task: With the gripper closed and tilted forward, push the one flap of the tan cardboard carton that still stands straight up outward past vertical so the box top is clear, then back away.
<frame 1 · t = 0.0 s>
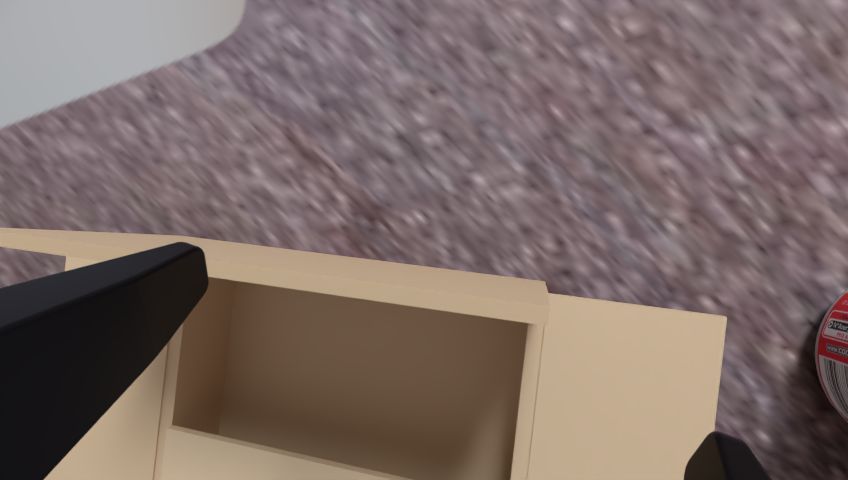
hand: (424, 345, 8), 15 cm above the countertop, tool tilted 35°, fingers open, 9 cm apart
flap: (296, 264, 16), point 9 cm above the countertop, hinge at 90.0°
carton: (360, 427, 24), on the countertop
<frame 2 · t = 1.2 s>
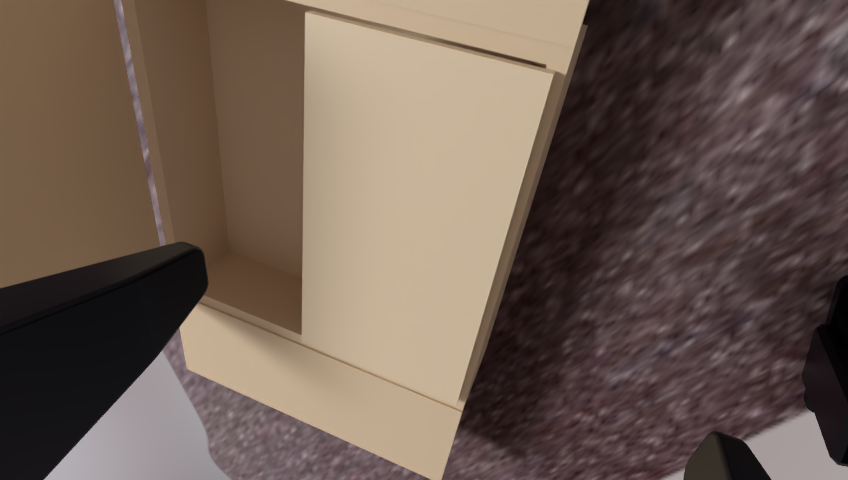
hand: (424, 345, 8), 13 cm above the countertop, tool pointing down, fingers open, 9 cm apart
flap: (43, 193, 18), point 9 cm above the countertop, hinge at 90.0°
carton: (357, 169, 23), on the countertop
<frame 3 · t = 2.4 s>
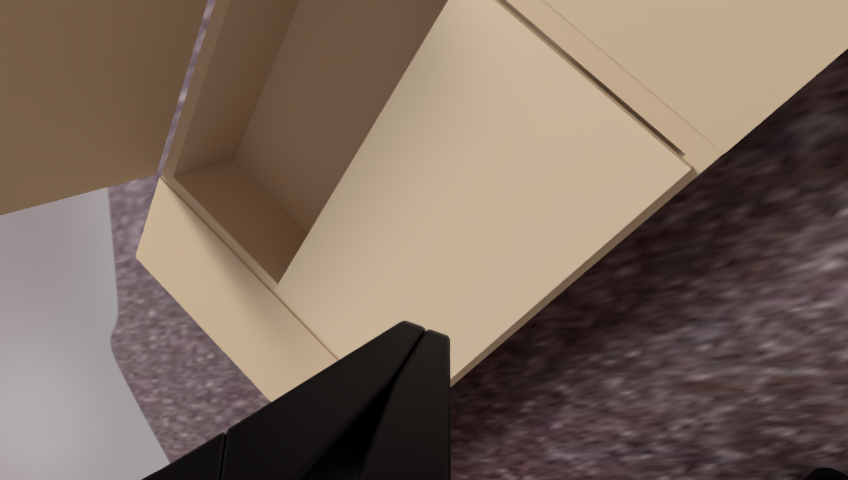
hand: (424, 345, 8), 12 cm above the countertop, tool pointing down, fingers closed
flap: (79, 19, 15), point 9 cm above the countertop, hinge at 90.0°
carton: (410, 146, 21), on the countertop
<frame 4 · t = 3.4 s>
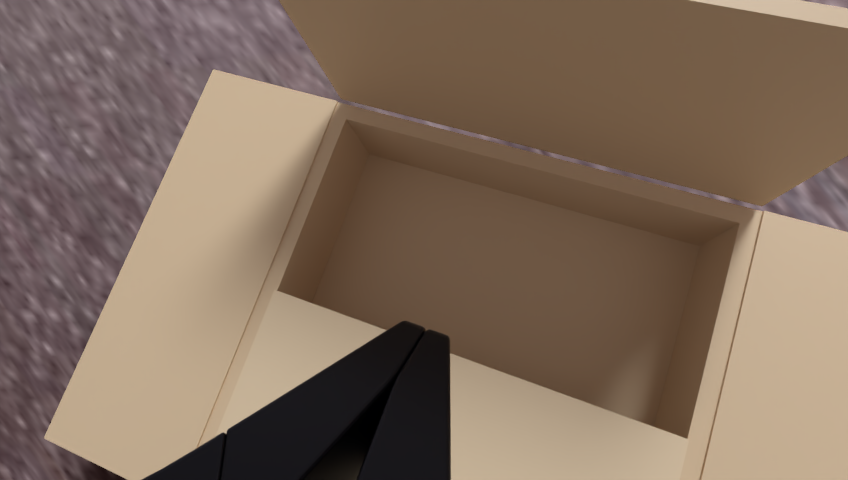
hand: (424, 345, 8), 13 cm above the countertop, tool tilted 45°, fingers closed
flap: (541, 80, 14), point 9 cm above the countertop, hinge at 90.0°
carton: (469, 360, 21), on the countertop
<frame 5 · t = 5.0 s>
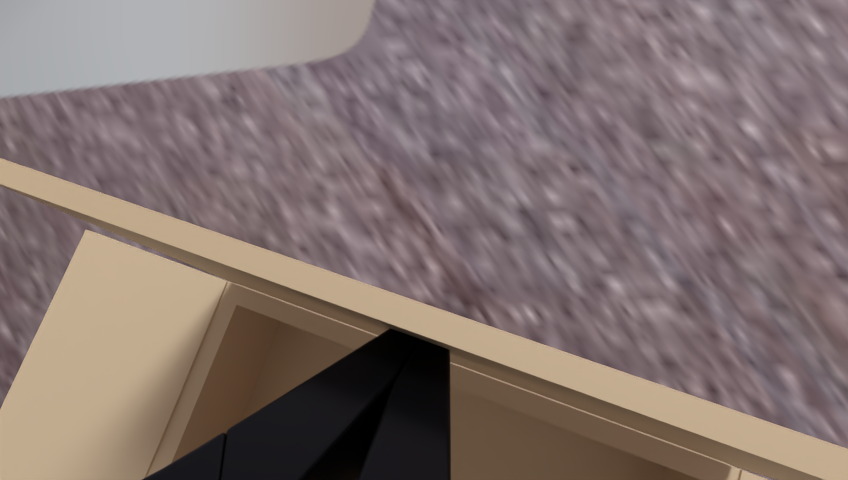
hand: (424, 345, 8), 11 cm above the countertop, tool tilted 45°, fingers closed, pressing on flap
flap: (442, 343, 11), point 9 cm above the countertop, hinge at 94.0°, touching gripper
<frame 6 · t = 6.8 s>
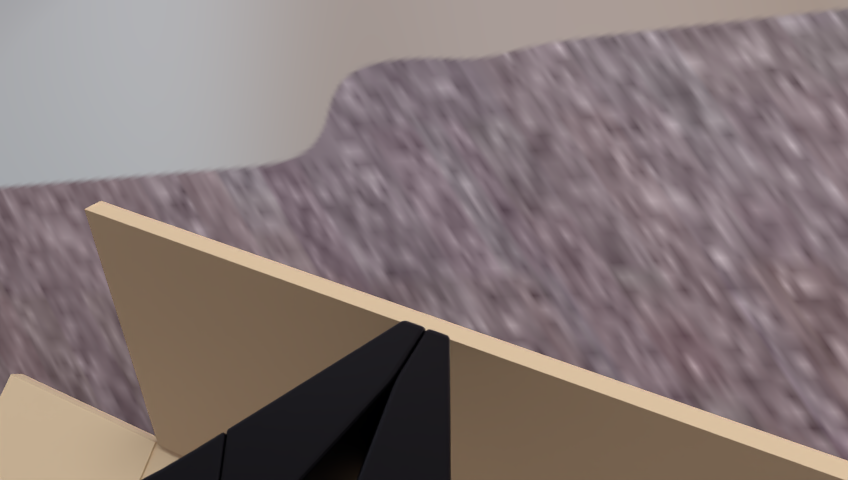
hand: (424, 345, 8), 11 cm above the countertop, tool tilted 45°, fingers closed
flap: (410, 459, 11), point 7 cm above the countertop, hinge at 134.8°
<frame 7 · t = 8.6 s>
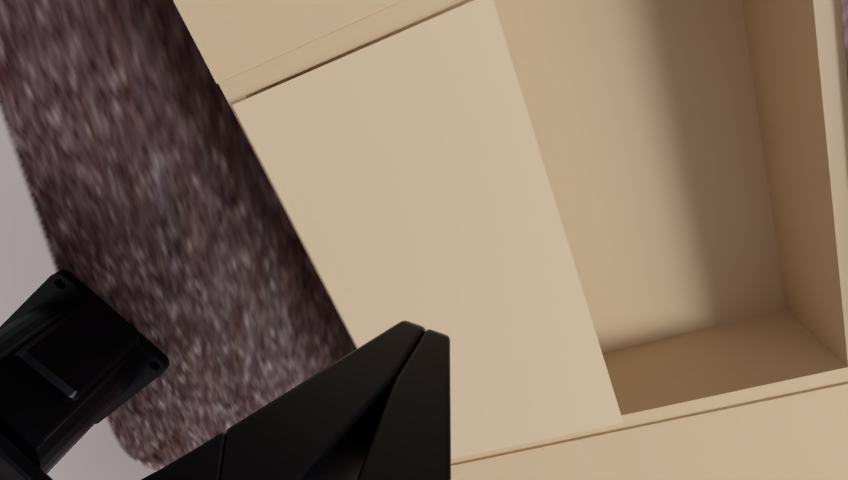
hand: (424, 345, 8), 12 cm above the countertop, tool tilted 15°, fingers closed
carton: (546, 197, 19), on the countertop
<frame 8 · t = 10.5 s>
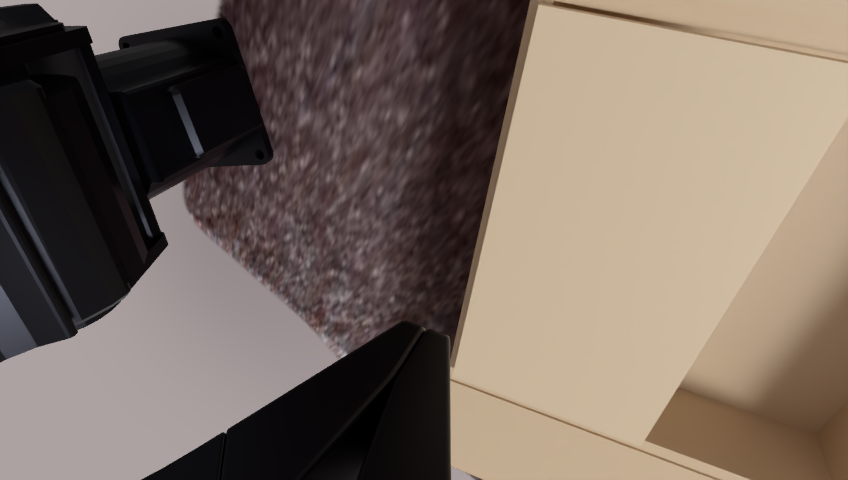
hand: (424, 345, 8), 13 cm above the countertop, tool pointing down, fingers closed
carton: (708, 236, 19), on the countertop
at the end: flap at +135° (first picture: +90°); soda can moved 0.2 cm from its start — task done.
